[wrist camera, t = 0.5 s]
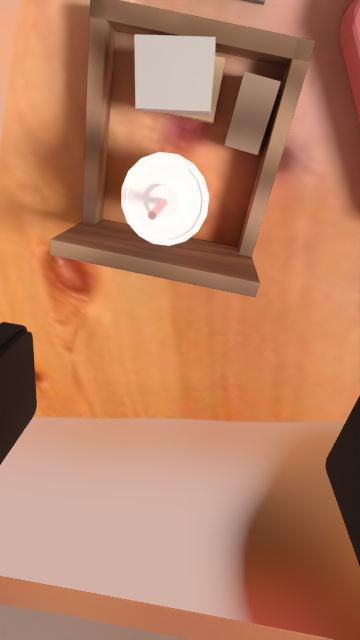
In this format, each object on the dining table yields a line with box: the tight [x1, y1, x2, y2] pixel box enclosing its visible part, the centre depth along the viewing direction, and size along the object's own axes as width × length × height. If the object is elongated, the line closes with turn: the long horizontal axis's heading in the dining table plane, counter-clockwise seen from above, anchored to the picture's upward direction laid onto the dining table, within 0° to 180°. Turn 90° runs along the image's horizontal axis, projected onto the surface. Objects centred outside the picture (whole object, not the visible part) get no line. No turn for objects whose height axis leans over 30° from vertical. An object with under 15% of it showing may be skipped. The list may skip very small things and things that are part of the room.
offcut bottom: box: [161, 56, 225, 124], centre depth 26 cm, size 4×6×3 cm, turn 80°
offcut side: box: [224, 72, 281, 155], centre depth 27 cm, size 5×3×2 cm, turn 166°
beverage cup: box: [121, 152, 209, 246], centre depth 24 cm, size 6×6×14 cm
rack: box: [50, 0, 315, 297], centre depth 25 cm, size 17×16×9 cm
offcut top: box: [134, 34, 216, 115], centre depth 23 cm, size 4×5×3 cm
